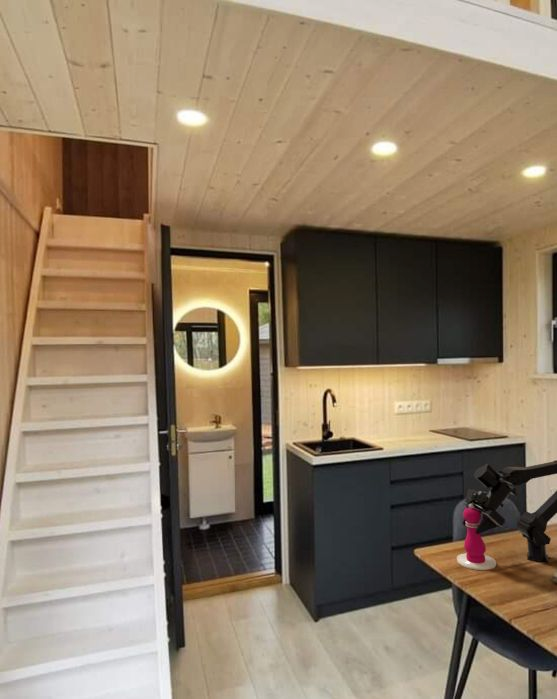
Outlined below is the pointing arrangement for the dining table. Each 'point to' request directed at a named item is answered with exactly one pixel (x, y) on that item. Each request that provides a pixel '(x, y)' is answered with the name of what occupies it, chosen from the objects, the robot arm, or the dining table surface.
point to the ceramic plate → (487, 565)
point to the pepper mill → (473, 536)
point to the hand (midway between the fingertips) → (469, 529)
